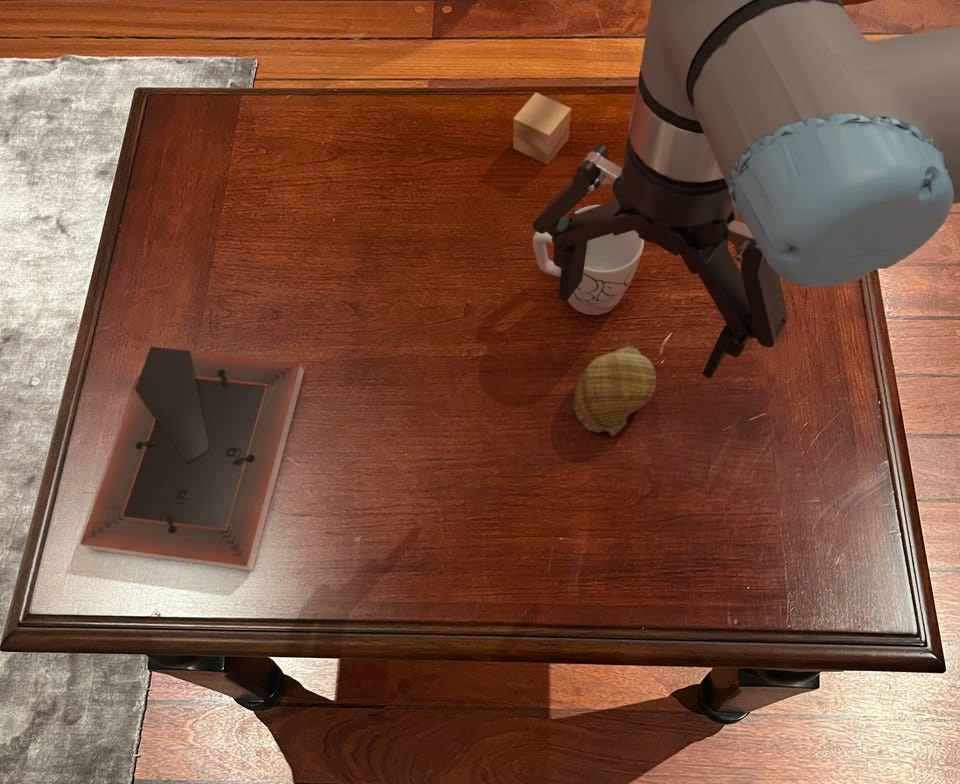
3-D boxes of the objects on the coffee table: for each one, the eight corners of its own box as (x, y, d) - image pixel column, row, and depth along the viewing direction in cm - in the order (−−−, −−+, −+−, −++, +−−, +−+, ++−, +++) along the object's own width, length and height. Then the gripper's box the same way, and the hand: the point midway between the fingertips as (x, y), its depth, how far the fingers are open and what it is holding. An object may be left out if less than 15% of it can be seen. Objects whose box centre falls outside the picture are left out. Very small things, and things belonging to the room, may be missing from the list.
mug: (518, 302, 89) (519, 248, 80) (545, 244, 92) (549, 186, 83) (616, 334, 86) (629, 283, 78) (640, 274, 90) (655, 218, 81)
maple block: (568, 138, 99) (571, 108, 94) (547, 165, 97) (549, 135, 93) (534, 122, 100) (535, 92, 96) (513, 148, 99) (513, 118, 94)
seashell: (604, 446, 85) (660, 443, 79) (554, 428, 82) (609, 423, 75) (617, 361, 88) (673, 350, 81) (570, 339, 84) (624, 327, 77)
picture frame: (159, 357, 87) (91, 550, 78) (150, 346, 85) (78, 543, 76) (305, 373, 86) (253, 571, 76) (300, 362, 83) (246, 565, 74)
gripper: (916, 185, 46) (798, 363, 65) (547, 29, 53) (537, 231, 72) (866, 276, 43) (758, 434, 62) (484, 99, 50) (491, 290, 69)
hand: (640, 326), depth 67 cm, fingers open, 13 cm apart
